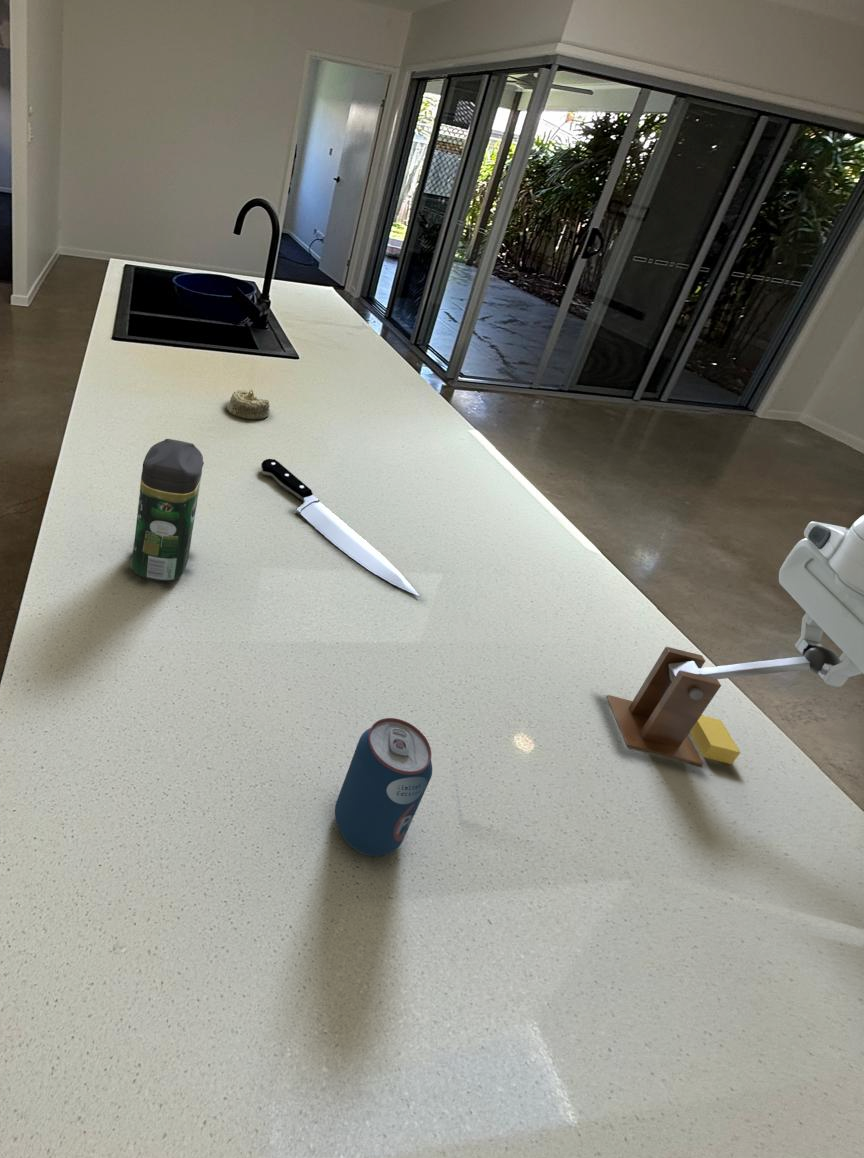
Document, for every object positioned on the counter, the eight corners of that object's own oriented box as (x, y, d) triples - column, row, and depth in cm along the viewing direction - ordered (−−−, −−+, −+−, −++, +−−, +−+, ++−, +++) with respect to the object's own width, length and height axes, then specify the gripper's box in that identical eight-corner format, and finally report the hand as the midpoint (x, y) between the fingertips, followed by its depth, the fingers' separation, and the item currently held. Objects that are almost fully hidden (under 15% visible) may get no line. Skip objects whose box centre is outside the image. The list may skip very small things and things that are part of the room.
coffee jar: (139, 539, 99) (153, 429, 91) (191, 549, 99) (209, 440, 91) (123, 578, 90) (137, 461, 82) (180, 589, 90) (199, 473, 82)
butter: (709, 736, 84) (721, 719, 83) (728, 769, 80) (740, 752, 79) (682, 729, 85) (693, 712, 83) (699, 761, 80) (711, 745, 79)
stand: (671, 718, 86) (715, 651, 81) (698, 770, 79) (748, 700, 74) (603, 700, 86) (642, 633, 81) (623, 751, 79) (668, 680, 74)
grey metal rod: (829, 660, 76) (829, 638, 75) (847, 680, 73) (847, 658, 72) (668, 678, 81) (666, 658, 79) (679, 697, 78) (677, 677, 77)
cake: (253, 426, 144) (256, 404, 142) (217, 410, 149) (220, 389, 146) (278, 412, 152) (281, 391, 149) (243, 397, 156) (245, 377, 153)
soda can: (401, 873, 61) (441, 788, 55) (328, 851, 61) (360, 765, 56) (400, 805, 67) (435, 723, 62) (334, 786, 67) (363, 703, 62)
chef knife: (402, 608, 97) (405, 596, 96) (248, 473, 124) (249, 462, 123) (426, 596, 100) (429, 584, 99) (271, 466, 127) (272, 456, 126)
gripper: (1002, 643, 59) (910, 748, 65) (855, 526, 78) (794, 616, 84) (930, 627, 60) (845, 732, 66) (800, 514, 78) (743, 604, 84)
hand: (815, 666), depth 75 cm, fingers closed on grey metal rod, 3 cm apart
